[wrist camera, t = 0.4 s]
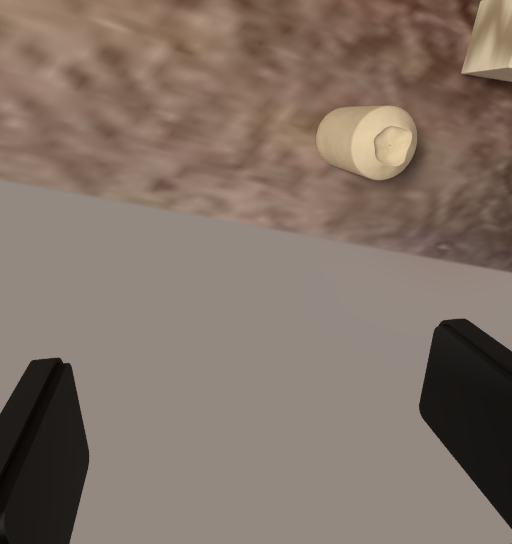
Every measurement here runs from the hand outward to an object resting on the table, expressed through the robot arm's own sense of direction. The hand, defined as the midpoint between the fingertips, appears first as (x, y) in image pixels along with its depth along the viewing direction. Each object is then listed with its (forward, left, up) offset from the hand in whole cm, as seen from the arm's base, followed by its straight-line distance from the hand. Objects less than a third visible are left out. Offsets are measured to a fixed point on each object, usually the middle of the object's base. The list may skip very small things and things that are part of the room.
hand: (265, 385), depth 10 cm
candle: (-6, +13, -30) cm, 34 cm away
